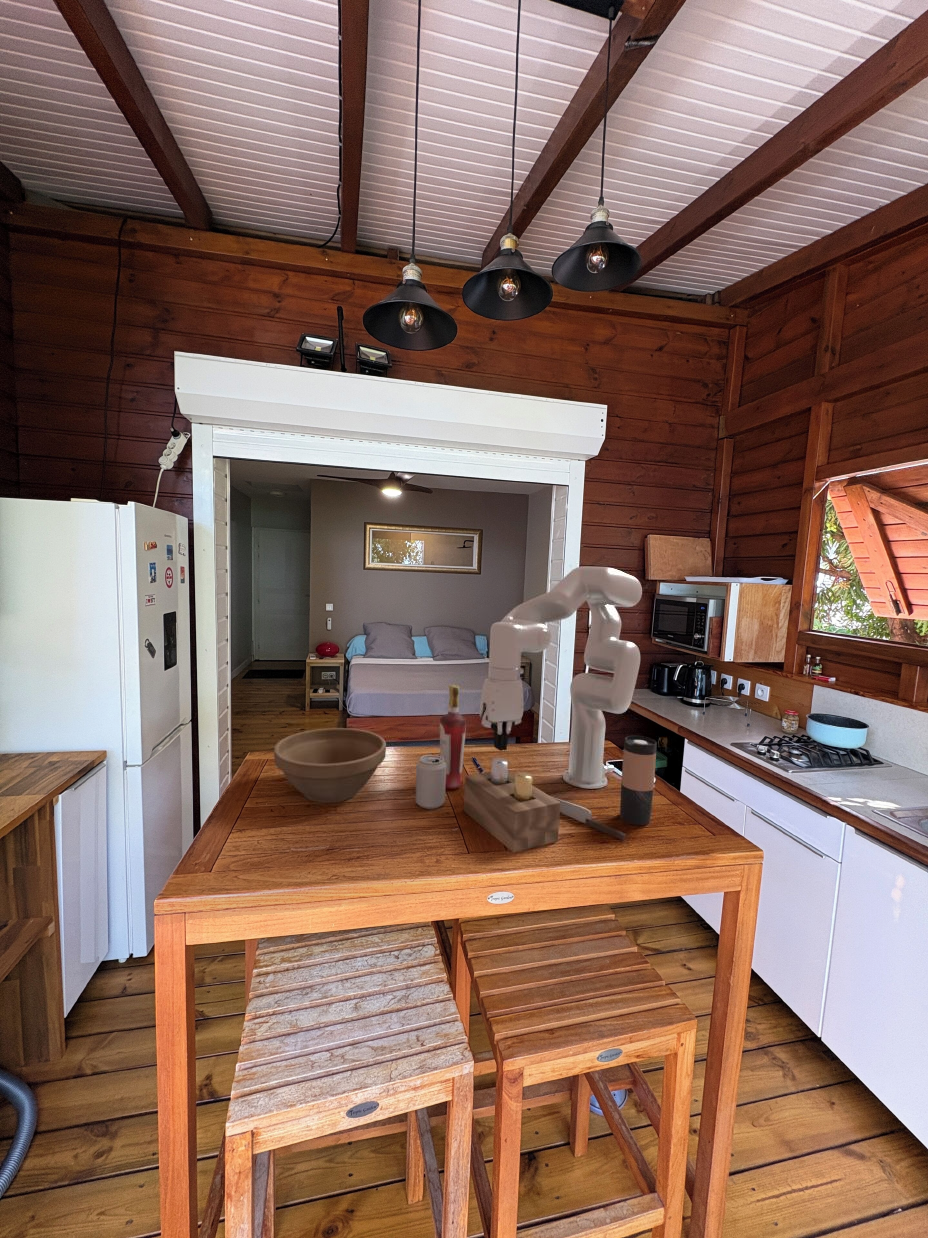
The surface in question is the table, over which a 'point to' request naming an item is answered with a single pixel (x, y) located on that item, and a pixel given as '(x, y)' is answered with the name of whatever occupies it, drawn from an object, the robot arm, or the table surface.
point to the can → (430, 781)
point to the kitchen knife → (587, 818)
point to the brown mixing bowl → (330, 761)
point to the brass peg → (523, 786)
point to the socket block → (511, 812)
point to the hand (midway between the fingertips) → (500, 748)
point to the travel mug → (637, 779)
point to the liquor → (453, 740)
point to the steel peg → (499, 771)
